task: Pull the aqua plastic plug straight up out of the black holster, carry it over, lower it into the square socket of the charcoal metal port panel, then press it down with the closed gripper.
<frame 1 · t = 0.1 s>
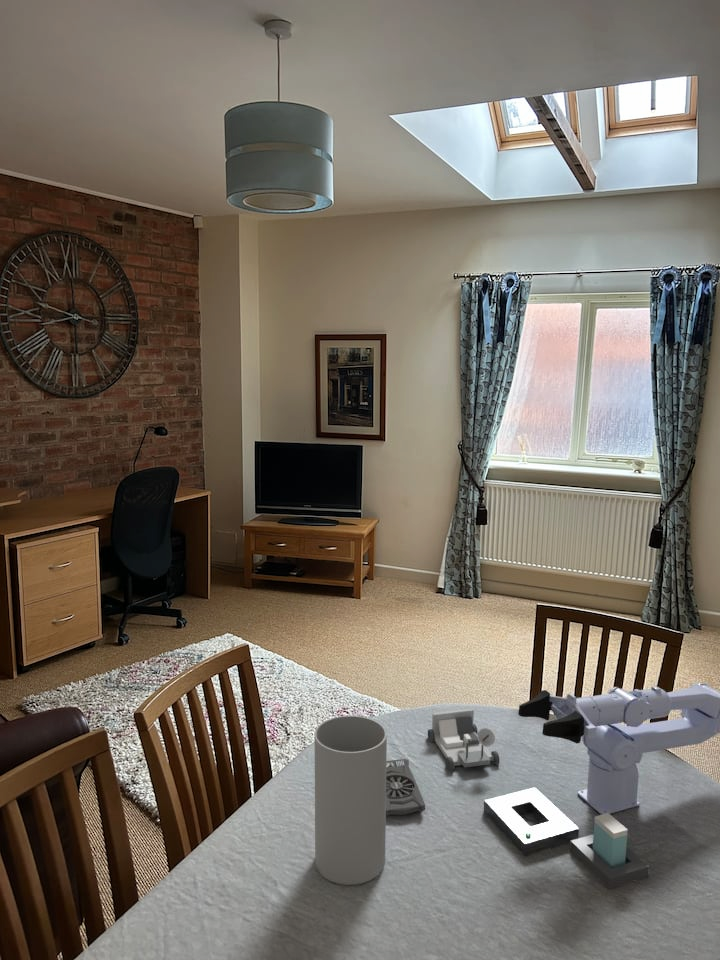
hand: (531, 719, 137), 22 cm above the table, tool horizontal, fingers open, 7 cm apart
holster: (608, 863, 130), on the table
port panel: (529, 825, 140), on the table
toy car: (464, 756, 165), on the table
graphics card: (390, 797, 150), on the table
plug: (609, 843, 129), in the holster
cylinder vase: (350, 863, 130), on the table
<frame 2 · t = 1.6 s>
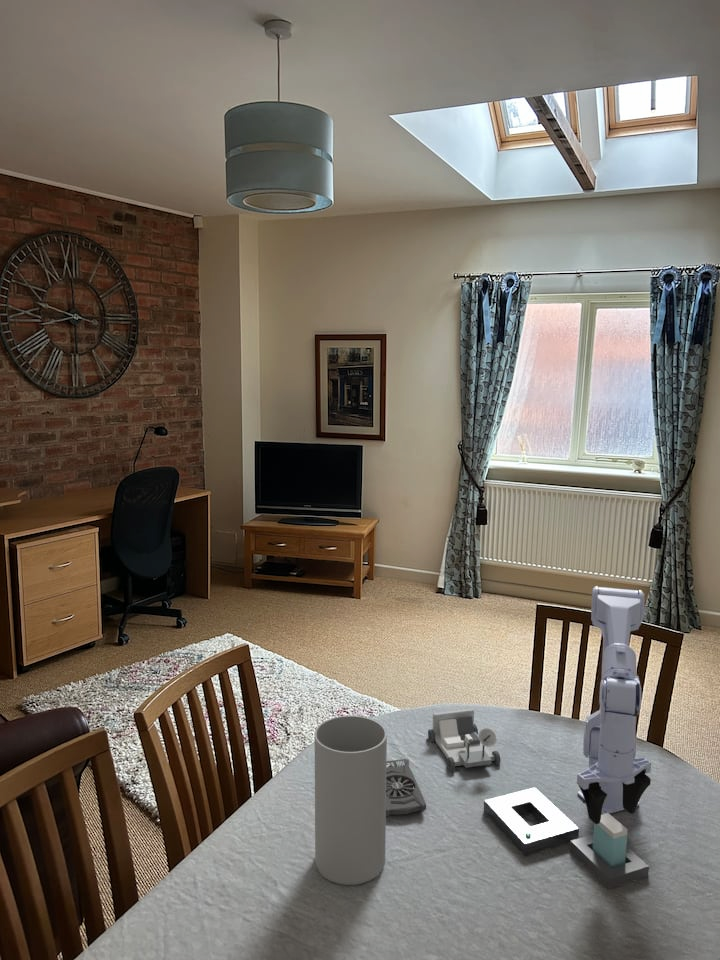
hand: (611, 815, 128), 9 cm above the table, tool pointing down, fingers open, 7 cm apart
nothing on the table moved.
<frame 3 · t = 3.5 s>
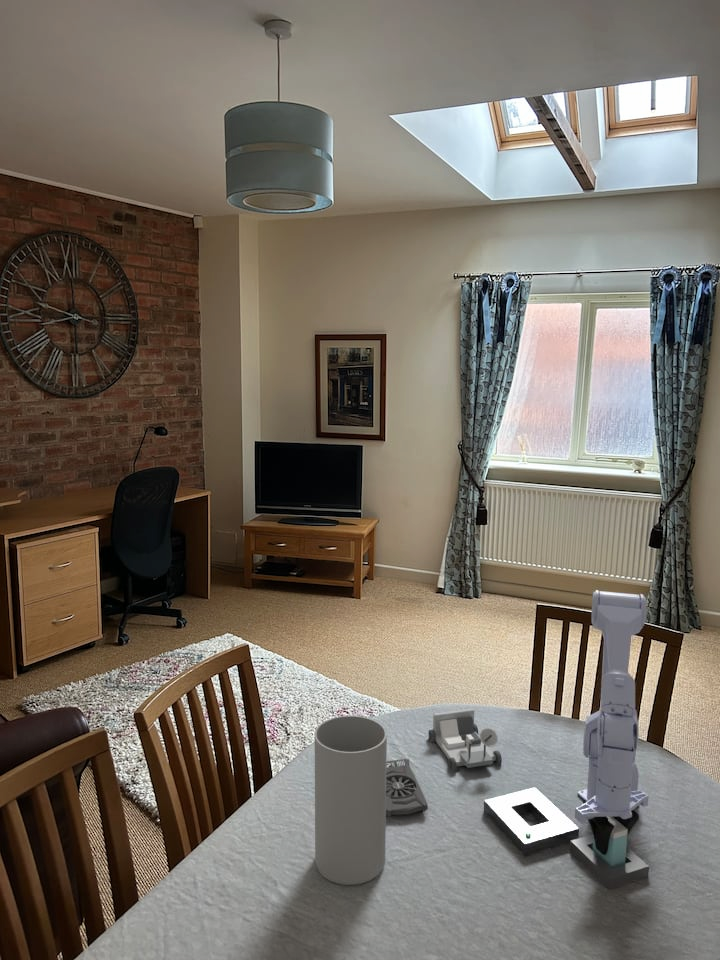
hand: (609, 848, 129), 3 cm above the table, tool pointing down, fingers closed on plug, 3 cm apart
plug: (609, 843, 129), in the holster, touching gripper
everything else where it was.
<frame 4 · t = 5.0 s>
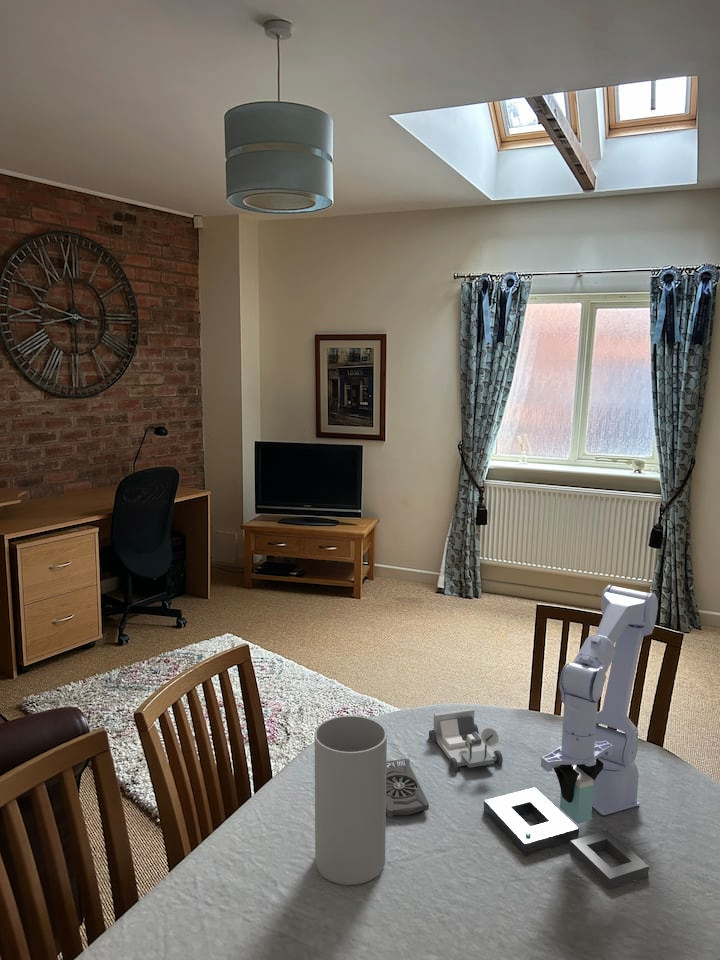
hand: (574, 797, 133), 10 cm above the table, tool pointing down, fingers closed on plug, 3 cm apart
plug: (576, 794, 132), point 11 cm above the table, touching gripper
everything else where it was.
when the fingers open (4 cm above the table, at t = 6.7 s): plug stays where it is, resting in port panel.
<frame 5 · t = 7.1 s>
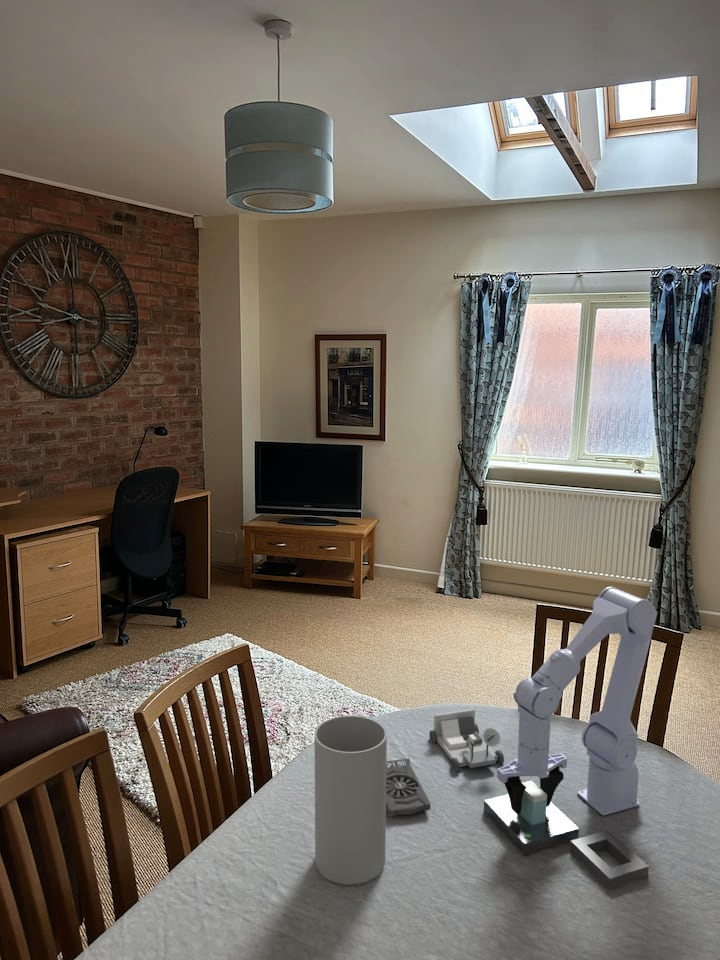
hand: (530, 807, 139), 4 cm above the table, tool pointing down, fingers open, 6 cm apart
plug: (531, 808, 139), in the port panel
everything else where it was.
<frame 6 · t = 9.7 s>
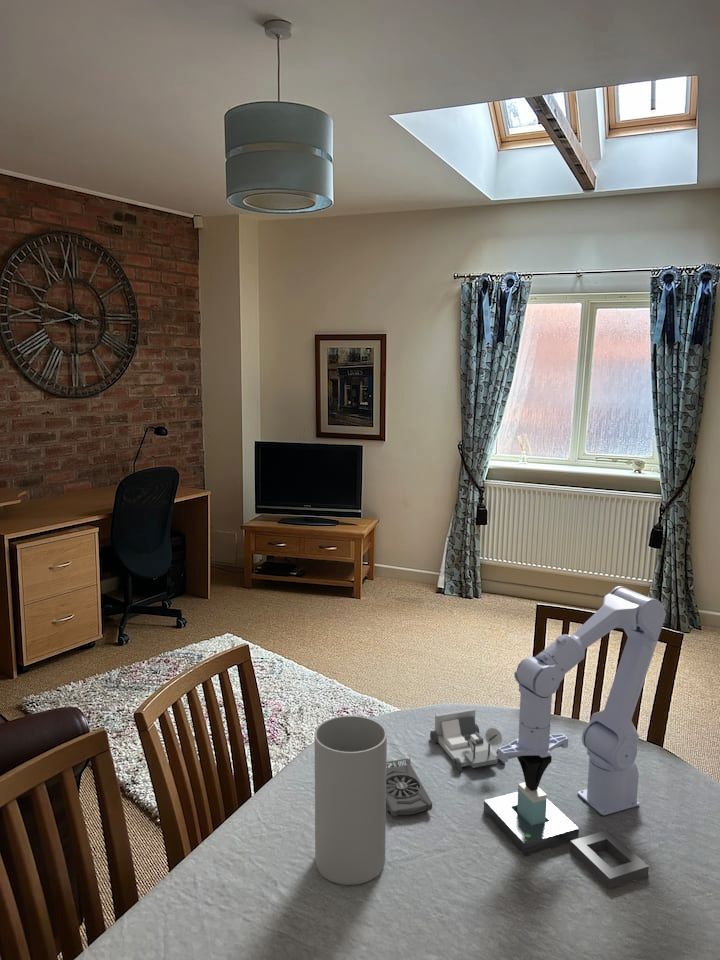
hand: (531, 787, 139), 8 cm above the table, tool pointing down, fingers closed
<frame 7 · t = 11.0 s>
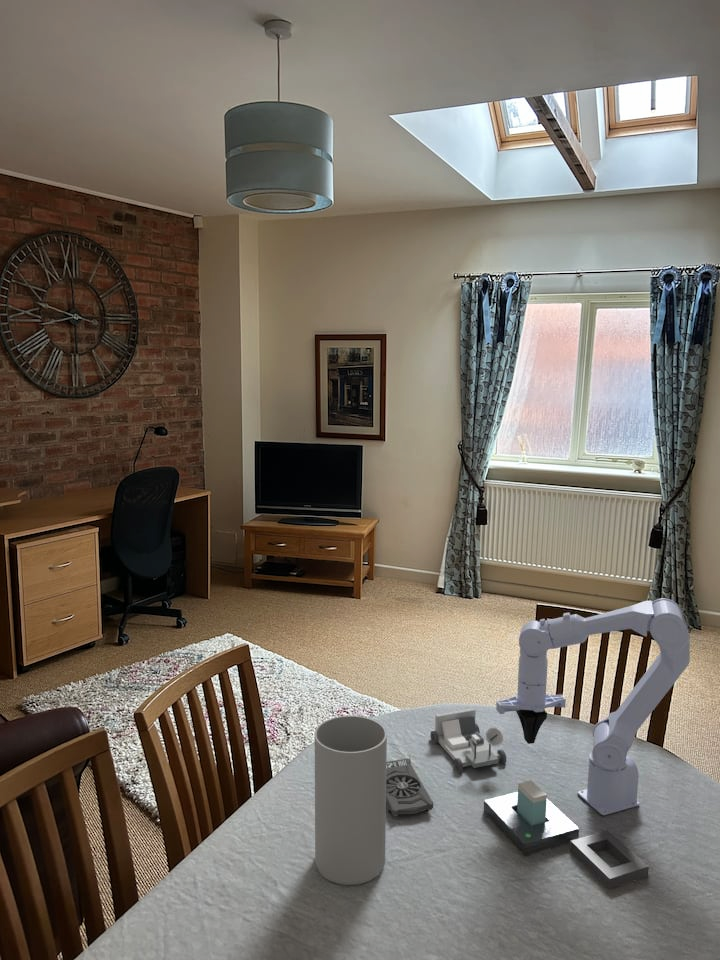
hand: (529, 741, 151), 10 cm above the table, tool pointing down, fingers closed
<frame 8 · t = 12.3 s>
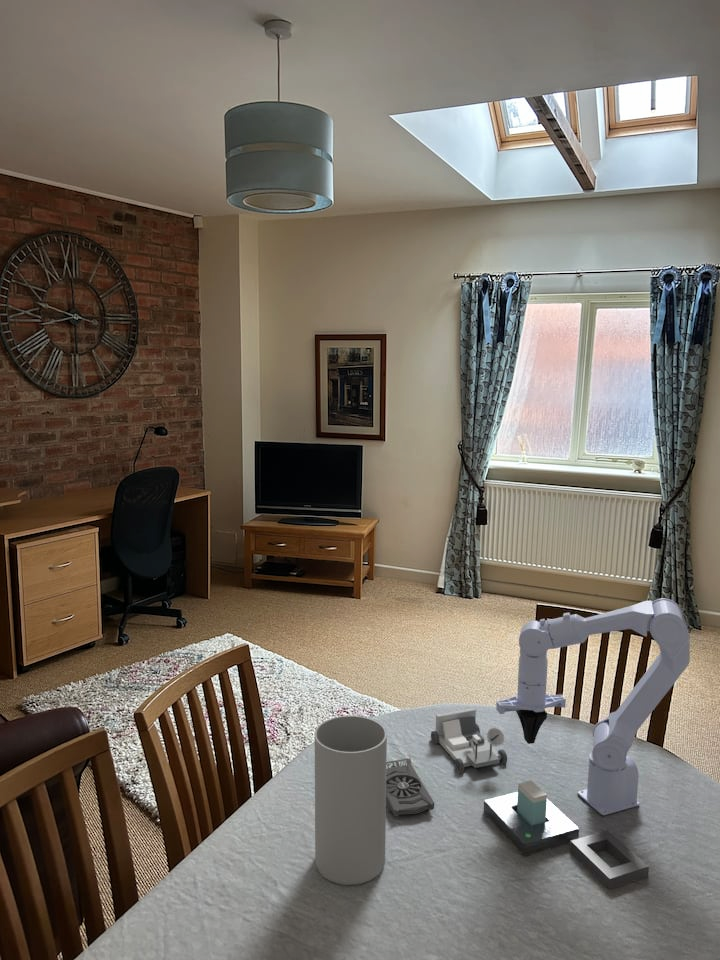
hand: (529, 741, 151), 10 cm above the table, tool pointing down, fingers closed
at the end: plug 0.4 cm off-centre on the port panel, point 4.0 cm above the port panel's base; plug tilted 0°; the gripper is holding nothing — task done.
